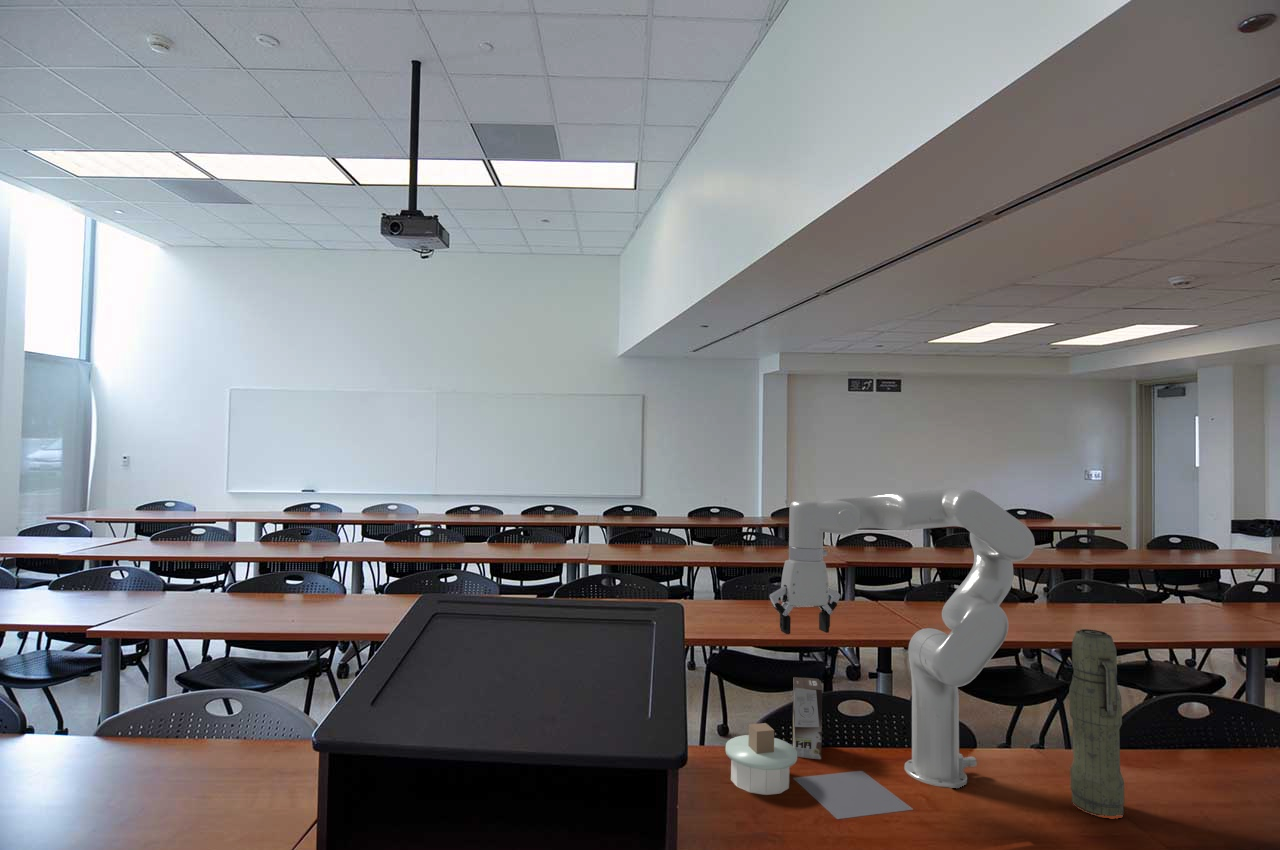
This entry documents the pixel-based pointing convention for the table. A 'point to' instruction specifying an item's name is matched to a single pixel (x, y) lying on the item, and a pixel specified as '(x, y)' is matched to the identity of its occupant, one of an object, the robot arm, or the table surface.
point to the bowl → (759, 779)
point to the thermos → (1096, 725)
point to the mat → (851, 794)
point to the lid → (761, 749)
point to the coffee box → (807, 717)
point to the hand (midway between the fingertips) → (804, 632)
